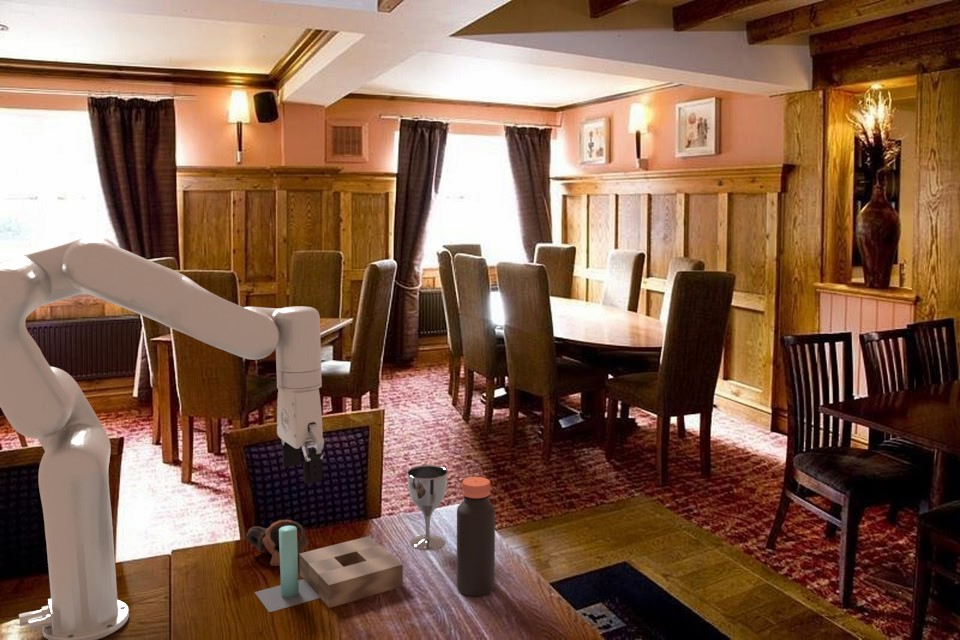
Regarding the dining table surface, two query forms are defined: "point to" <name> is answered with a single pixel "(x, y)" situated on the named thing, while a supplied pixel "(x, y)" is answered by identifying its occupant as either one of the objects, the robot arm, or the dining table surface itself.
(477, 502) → the bottle
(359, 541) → the hole block
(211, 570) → the dining table surface
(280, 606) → the mat
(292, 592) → the peg
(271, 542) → the brown hollow rounded piece
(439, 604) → the dining table surface
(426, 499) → the wine glass
